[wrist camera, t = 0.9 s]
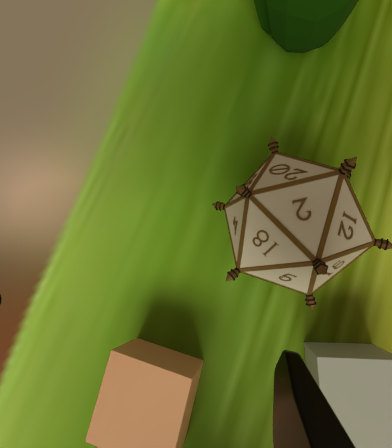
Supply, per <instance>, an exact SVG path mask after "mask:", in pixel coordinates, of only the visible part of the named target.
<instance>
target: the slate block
mask: <svg viewBox="0 0 392 448" xmlns="http://www.w3.org/2000/svg"><path fill="white" fill-rule="evenodd" d="M304 351H305V364H306V366H307V368H308V369H309V371H310V373H311V374H312V376H313V378H314V379H315V381H316V383H317V384H318V386H319V388H320V389H321V391H322V393H323V394H324V396H325V398H326V399H327V401H328V403H329V404H330V406H331V408H332V409H333V411H334V412H335V414H336V416H337V417H338V419H339V421H340V422H341V424H342V426H343V427H344V429H345V431H346V432H347V434H348V436H349V437H350V439H351V441H352V442H353V444H354V446H355V447H356V448H392V354H391V353H389V352H387V351H385V350H383V349H381V348H379V347H377V346H375V345H373V344H358V343H327V342H304Z"/></svg>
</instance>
